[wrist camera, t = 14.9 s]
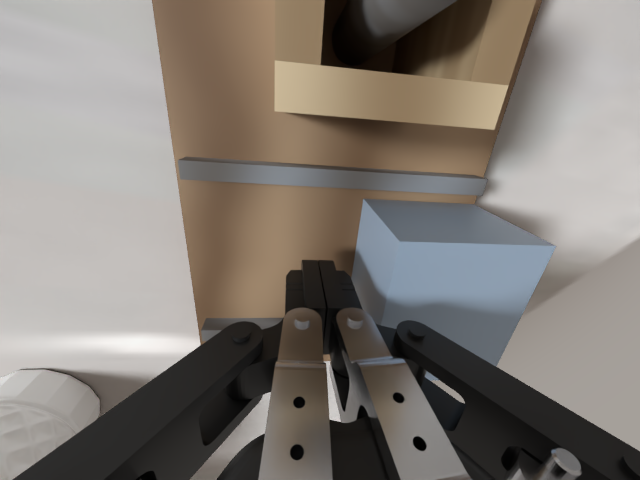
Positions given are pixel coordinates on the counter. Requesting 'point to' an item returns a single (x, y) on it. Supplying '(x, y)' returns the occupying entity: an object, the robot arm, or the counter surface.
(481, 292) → the block
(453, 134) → the jig board
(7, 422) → the white cup
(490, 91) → the collar
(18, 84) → the counter surface
